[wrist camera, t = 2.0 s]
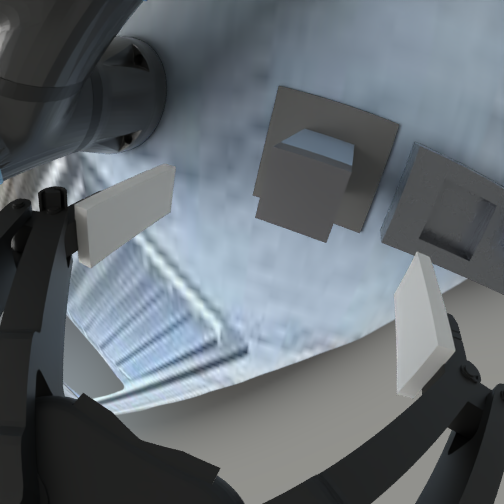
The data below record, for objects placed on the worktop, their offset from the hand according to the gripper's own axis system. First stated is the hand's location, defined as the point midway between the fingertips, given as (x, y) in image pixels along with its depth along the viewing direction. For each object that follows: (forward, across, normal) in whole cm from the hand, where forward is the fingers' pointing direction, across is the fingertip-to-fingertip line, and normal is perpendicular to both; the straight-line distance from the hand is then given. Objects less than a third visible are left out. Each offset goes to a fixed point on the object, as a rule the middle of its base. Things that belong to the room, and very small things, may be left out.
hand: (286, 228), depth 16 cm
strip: (+17, +24, 0) cm, 29 cm away
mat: (+17, 0, 0) cm, 17 cm away
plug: (+17, 0, 0) cm, 17 cm away
